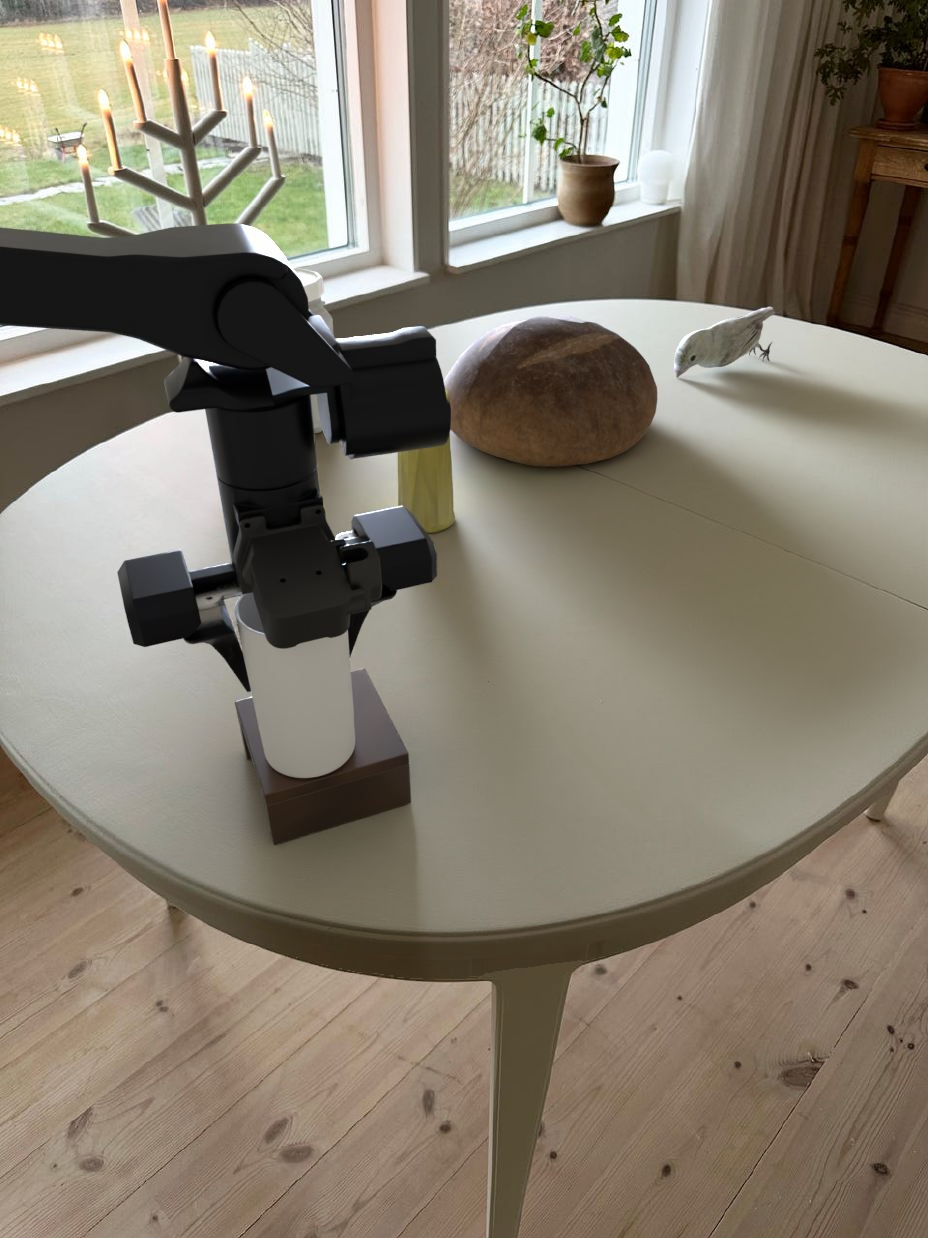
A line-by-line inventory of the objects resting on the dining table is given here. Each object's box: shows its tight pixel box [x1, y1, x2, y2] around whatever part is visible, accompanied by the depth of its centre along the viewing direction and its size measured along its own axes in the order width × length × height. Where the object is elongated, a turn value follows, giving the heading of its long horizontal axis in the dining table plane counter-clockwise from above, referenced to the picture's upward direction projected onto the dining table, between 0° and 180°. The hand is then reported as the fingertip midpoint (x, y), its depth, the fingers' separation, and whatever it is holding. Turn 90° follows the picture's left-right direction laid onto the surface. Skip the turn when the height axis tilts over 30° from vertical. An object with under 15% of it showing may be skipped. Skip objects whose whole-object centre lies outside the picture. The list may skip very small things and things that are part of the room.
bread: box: [443, 316, 658, 468], centre depth 113 cm, size 26×27×13 cm
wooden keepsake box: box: [234, 667, 412, 846], centre depth 67 cm, size 10×10×5 cm
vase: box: [397, 388, 456, 534], centre depth 94 cm, size 6×6×14 cm
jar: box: [292, 267, 335, 434], centre depth 112 cm, size 10×10×18 cm
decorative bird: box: [673, 306, 776, 378], centre depth 130 cm, size 5×16×7 cm, turn 118°
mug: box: [234, 593, 355, 778], centre depth 61 cm, size 10×7×12 cm, turn 38°
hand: (295, 676), depth 62 cm, fingers closed on mug, 6 cm apart
